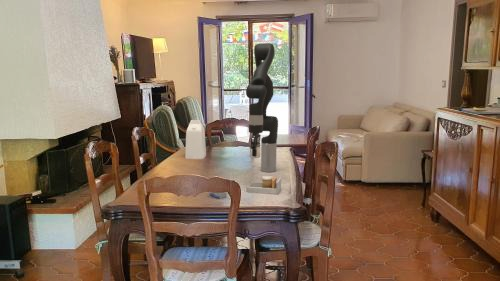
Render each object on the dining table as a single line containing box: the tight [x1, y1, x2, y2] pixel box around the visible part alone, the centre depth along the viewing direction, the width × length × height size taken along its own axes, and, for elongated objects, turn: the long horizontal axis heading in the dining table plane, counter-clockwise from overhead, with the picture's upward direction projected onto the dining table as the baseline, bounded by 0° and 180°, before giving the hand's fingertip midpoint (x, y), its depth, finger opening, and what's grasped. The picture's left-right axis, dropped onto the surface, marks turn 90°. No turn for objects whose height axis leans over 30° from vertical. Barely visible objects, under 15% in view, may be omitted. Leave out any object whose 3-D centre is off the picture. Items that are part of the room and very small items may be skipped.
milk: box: [184, 119, 207, 160], centre depth 276 cm, size 12×12×26 cm
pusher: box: [272, 176, 278, 189], centre depth 201 cm, size 8×1×6 cm, turn 167°
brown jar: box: [261, 175, 273, 188], centre depth 201 cm, size 5×5×7 cm
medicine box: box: [209, 192, 227, 200], centre depth 191 cm, size 8×4×9 cm, turn 45°
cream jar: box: [250, 143, 261, 159], centre depth 210 cm, size 5×5×7 cm
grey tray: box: [246, 176, 282, 195], centre depth 202 cm, size 11×16×6 cm
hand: (255, 155), depth 211 cm, fingers closed on cream jar, 5 cm apart
